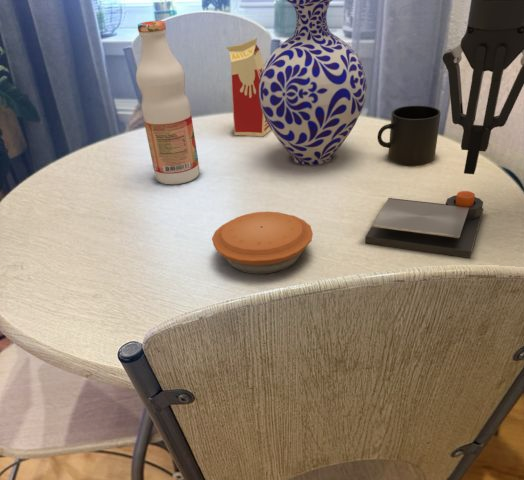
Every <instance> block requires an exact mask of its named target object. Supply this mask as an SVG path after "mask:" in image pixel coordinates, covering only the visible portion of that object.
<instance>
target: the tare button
mask: <svg viewBox="0 0 524 480" xmlns="http://www.w3.org/2000/svg"><path fill="white" fill-rule="evenodd" d="M456 195H457V196H456ZM456 195H455V196H456V202H455V204H456V205H458V206H462V207H470V206H473V204H474V198H475V197H476V193H474V192H473V191H468V190H461V191H459V192H457V193H456Z"/></svg>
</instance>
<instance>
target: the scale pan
mask: <svg viewBox="0 0 524 480" xmlns="http://www.w3.org/2000/svg"><path fill="white" fill-rule="evenodd" d="M395 199H396V198H395ZM395 199H388V198H387V199H386V201H387V202H386V201H385V203H384V204H383V206H384V207H382V208H381V209H380V211H381V212H380V211H379V213H378V215H377V216H378V217H377V216H376V218H375V220H374V221H375V222H374V221H373V223H372V225H371V227H378V228H386V229H393V230H401V231H408V232H416V233H423V234H431V235H439V236H446V237H454V238H459V237H460V234H461V231H462V228H463V225H464V222H465V219H466V216H467V213H468V210H469V208H467V207H458V206H449V205H440V204H441V203H440V204H431V203H432V202H431V203H422V202H423V201H422V202H413V201H414V200H413V201H404V200H405V199H404V200H395Z"/></svg>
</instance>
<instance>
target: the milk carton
mask: <svg viewBox="0 0 524 480" xmlns="http://www.w3.org/2000/svg"><path fill="white" fill-rule="evenodd" d="M257 40H258V38H257V37H255V38H253V39H251V40H248V41H246V42H244V43H242V44H236V45H231V46H227V47H225V49H227V50H228V51H229V58H230V73H231V78H230V79H231V100H232V117H233V131H234V136H250V137H253V136H254V137H265V135H267V134H268V133H269V132H270V131H271V128H270V127H269V125H268V123H267V121H266V119H265V117H264V114H263V111H262V109H261V106H260V99H259V83H260V77H261V73H262V70H263V67H264V65H265V63H264V60H263V57H262V53H261V50H260V48H259V46H258V44H257Z"/></svg>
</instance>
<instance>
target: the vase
mask: <svg viewBox="0 0 524 480" xmlns="http://www.w3.org/2000/svg"><path fill="white" fill-rule="evenodd" d="M285 1H286V2H287V3H289V4H291V5H292V6H293V9H294V11H295V15H296V16H295V17H296V23H295V29H294V33H293V34H292V35H291V36H289V37H288V38H287V39H286V40H284V41H283V42H282V43H281V44H280V45H279V46H278V47H277V48H276V49H275V50H274V51H273V52H271V54H270V55H269V57H268V58H267V59H266V62H265V63H264V67H263V70H262V73H261V77H260V83H259V99H260V106H261V109H262V111H263V114H264V117H265V119H266V121H267V123H268V125H269V127H270V128H271V129H270V131H271V132H272V133H273V134H274V136H275V137H276V139H277V141H279V143H280V144H281V145H282V146H283V148H284V149H285V150H286V151H287V152H288V154H289V155H290V156H291V157H292V161H293V162H295V163H296V164H300V165H306V166H315V165H322V164H326V163H329V162H331V161H332V160H333V158H334V155H335V154H336V153H337V151H338V150H339V149H340V147H341V146H342V144H344V142H345V141H346V139H347V138H348V136H349V135H350V133H351V132H352V130H353V128H355V125H356V123H357V121H358V119H359V117H360V116H361V113H362V111H363V108H364V105H365V102H366V97H367V88H368V87H367V76H366V70H365V67H364V64H363V62H362V59H361V58H360V56H359V55H358V53H357V52H356V51H355V50H354V49H353V48H352V47H351V46H350V45H349V44H348V43H346V42H345V40H343V39H341V38H340V37H338V36H337V35H335V34H334V33H332V32H331V31H330V29H329V26H328V19H327V16H328V15H327V14H328V8H329V6H330V3H331V2H332V1H333V0H285Z"/></svg>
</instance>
